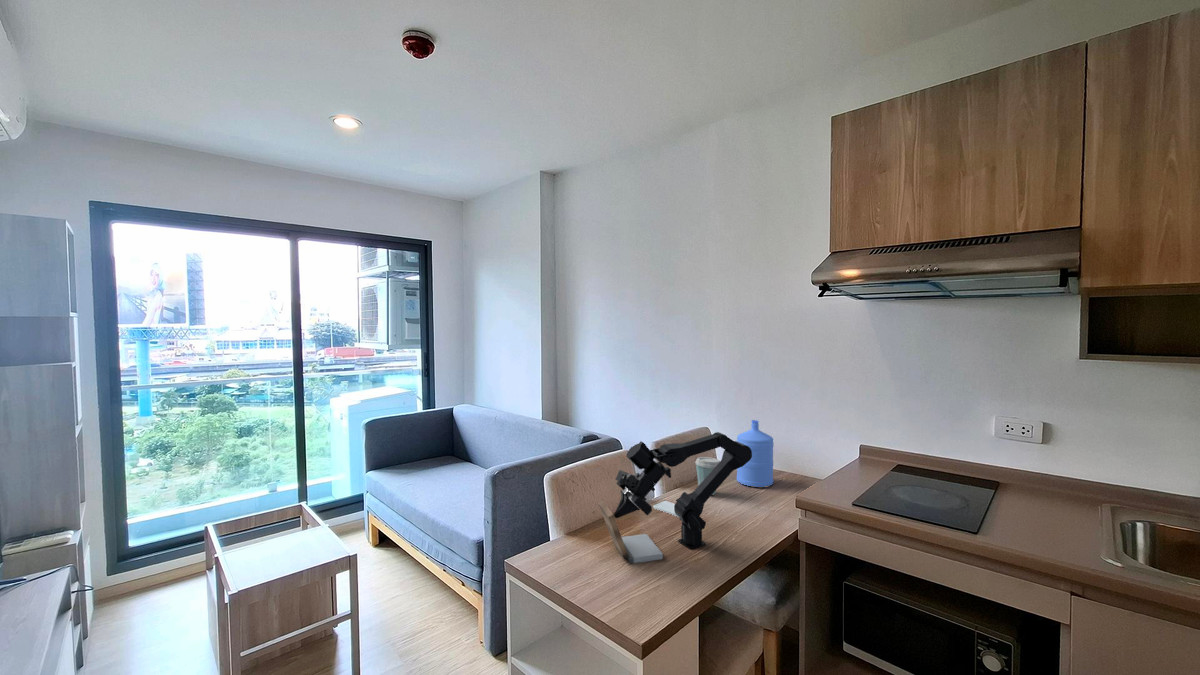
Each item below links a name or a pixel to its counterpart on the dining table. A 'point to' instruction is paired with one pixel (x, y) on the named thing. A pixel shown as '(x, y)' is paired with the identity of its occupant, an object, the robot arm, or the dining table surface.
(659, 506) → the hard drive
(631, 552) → the base board
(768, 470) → the water jug
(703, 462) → the disposable coffee cup
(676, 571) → the dining table surface
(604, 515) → the plank
